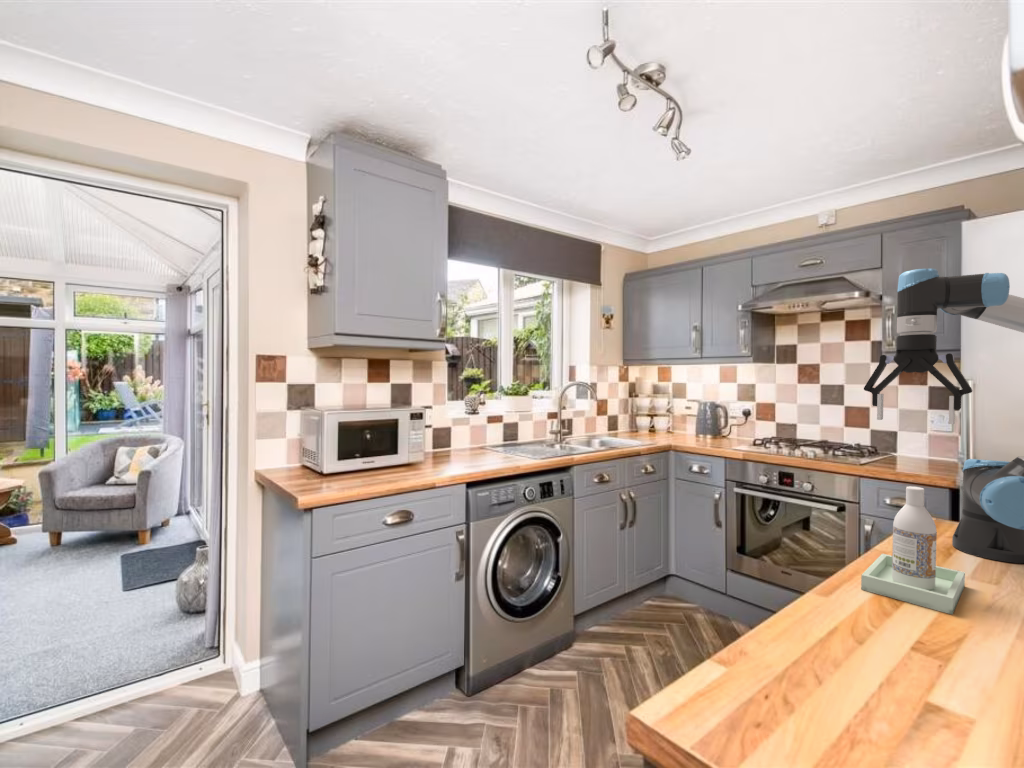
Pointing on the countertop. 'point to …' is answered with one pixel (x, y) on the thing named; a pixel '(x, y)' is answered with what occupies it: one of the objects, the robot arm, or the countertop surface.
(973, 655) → the countertop surface
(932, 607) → the tray
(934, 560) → the bath foam
